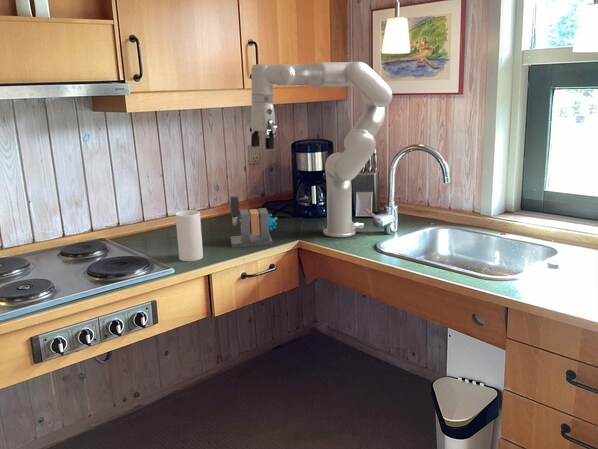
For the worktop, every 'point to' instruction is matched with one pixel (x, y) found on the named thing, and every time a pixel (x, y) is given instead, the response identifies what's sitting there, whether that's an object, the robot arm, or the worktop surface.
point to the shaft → (236, 211)
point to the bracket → (245, 237)
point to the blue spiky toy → (272, 222)
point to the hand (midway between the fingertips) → (262, 147)
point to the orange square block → (254, 222)
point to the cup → (189, 235)
